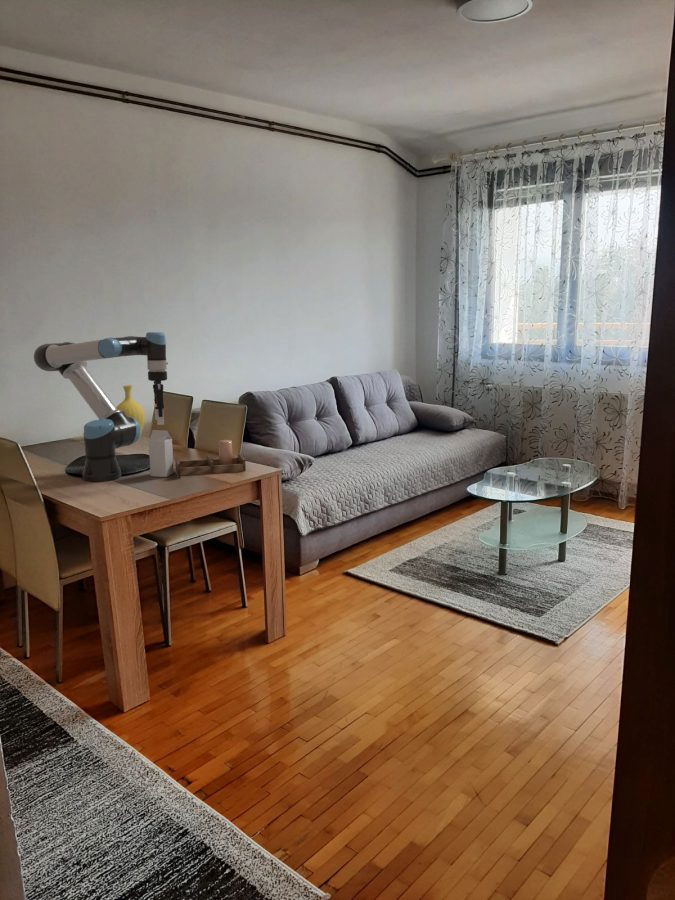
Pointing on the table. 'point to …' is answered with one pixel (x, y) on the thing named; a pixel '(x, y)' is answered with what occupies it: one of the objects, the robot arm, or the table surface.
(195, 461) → the rack
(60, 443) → the table surface
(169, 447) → the milk carton
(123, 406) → the vase
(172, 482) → the table surface
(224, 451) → the canister
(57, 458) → the table surface
